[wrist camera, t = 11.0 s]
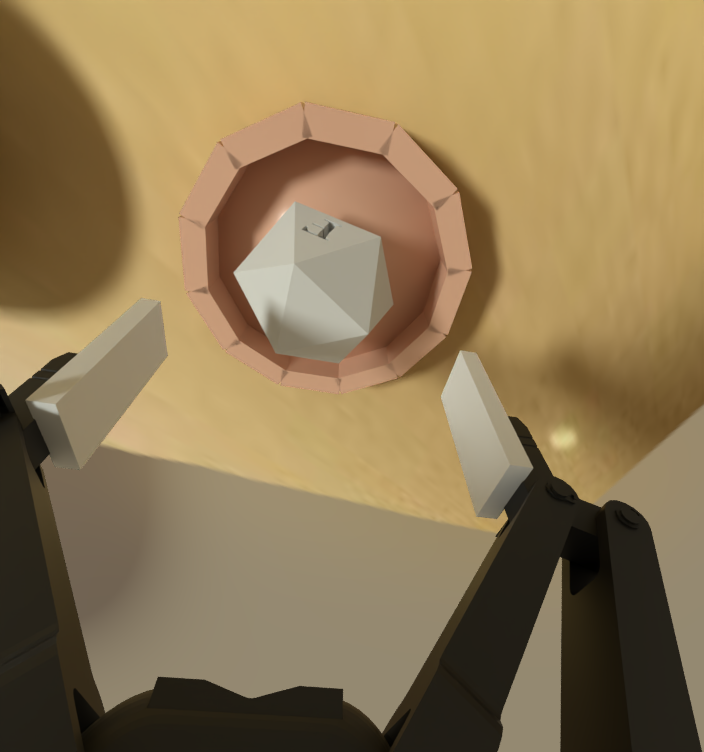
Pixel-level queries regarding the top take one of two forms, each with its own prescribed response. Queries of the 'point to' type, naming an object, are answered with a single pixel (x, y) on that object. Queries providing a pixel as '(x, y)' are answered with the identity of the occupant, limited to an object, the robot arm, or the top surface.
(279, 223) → the die
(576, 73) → the top surface
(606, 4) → the top surface
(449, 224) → the tray
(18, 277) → the top surface
